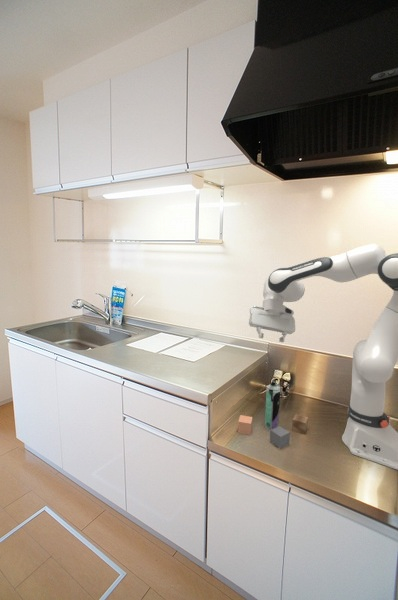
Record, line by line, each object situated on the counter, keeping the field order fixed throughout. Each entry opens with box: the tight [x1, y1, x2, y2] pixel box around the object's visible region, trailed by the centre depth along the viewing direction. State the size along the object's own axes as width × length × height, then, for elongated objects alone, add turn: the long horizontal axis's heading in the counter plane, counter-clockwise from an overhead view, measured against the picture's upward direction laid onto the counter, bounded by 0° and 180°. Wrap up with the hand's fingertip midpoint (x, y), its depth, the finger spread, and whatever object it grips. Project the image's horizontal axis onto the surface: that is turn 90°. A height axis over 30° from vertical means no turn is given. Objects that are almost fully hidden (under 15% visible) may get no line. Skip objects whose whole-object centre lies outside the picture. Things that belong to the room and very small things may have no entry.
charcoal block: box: [269, 425, 291, 450], centre depth 114 cm, size 5×5×5 cm
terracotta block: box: [237, 414, 253, 436], centre depth 121 cm, size 5×5×5 cm
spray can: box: [264, 380, 281, 431], centre depth 123 cm, size 6×6×20 cm
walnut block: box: [291, 413, 309, 435], centre depth 122 cm, size 5×5×5 cm
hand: (271, 339), depth 127 cm, fingers open, 8 cm apart
